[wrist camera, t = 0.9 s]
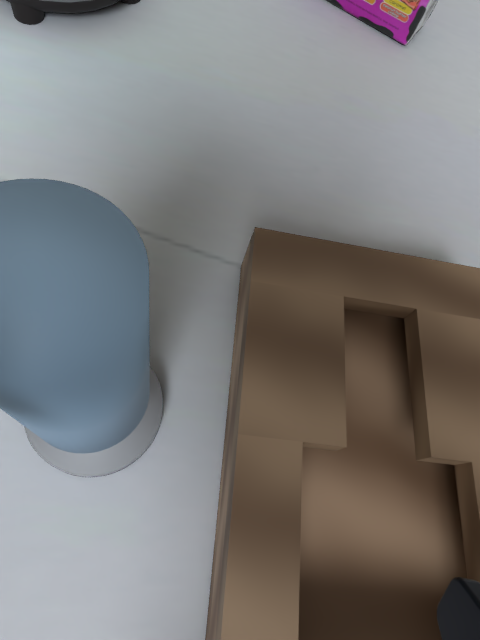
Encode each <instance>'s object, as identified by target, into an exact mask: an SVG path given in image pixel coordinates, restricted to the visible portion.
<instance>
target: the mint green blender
mask: <svg viewBox="0 0 480 640" xmlns="http://www.w3.org/2000/svg"><path fill="white" fill-rule="evenodd" d="M7 1H9V2H10V3H11V6H12V10H13V14H14V17H15V18H16V19H17V20H18V21H19V22H21V23H24V24H29V25H31V24H37V23H40V22H41V21H42V20H43V19H44V12H55V13H79V12H88V11H95V10H98V9H101V8H104V7H107V6H110V5H113V4H115V3H116V2H118V1H121V2H123V3H127V4H135V3H138V2H139V1H140V0H7ZM43 11H44V12H43Z"/></svg>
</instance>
